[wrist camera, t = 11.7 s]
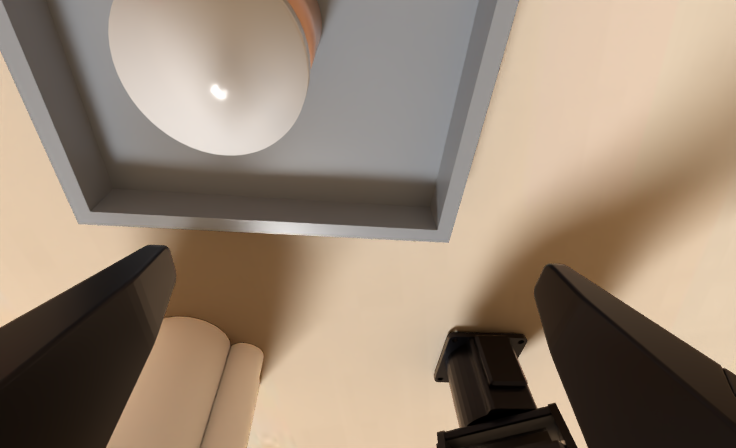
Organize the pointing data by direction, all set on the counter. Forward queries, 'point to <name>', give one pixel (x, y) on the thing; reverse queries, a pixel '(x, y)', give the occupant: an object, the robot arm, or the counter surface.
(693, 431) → the robot arm
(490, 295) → the counter surface
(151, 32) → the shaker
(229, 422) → the vase
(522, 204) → the counter surface
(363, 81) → the tray
